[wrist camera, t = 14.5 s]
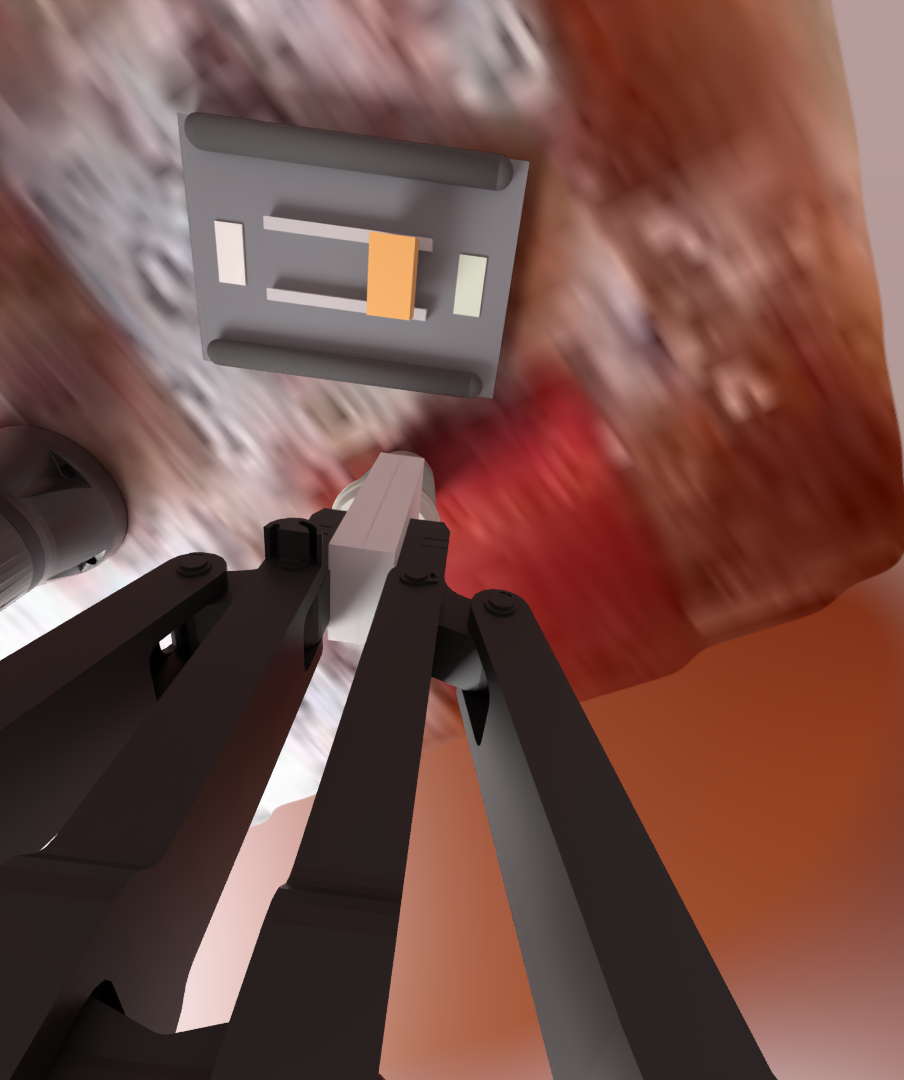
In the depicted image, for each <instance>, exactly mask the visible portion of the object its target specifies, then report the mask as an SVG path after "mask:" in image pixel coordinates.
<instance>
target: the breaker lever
mask: <svg viewBox="0 0 904 1080" xmlns="http://www.w3.org/2000/svg"><path fill="white" fill-rule="evenodd" d="M418 252H419V239H417V238H415V237H408V236H401V235H393V234H386V233H379V232H371V231H369V258H368V285H367V312H366V315H372V316H380V317H387V318H394V319H402V320H411V319H412V318H413V317H414V304H415V291H416V278H417V265H418Z"/></svg>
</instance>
